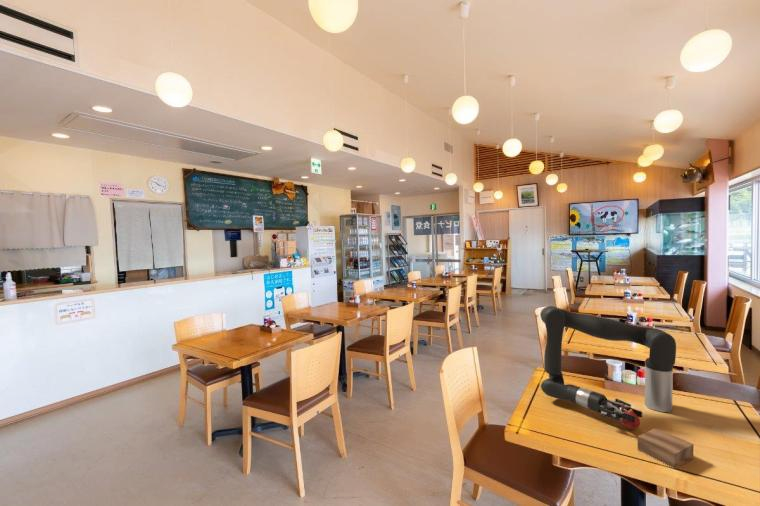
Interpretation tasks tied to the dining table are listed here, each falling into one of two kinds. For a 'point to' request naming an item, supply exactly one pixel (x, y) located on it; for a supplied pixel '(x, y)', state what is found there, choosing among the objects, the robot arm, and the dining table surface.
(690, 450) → the walnut block
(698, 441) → the dining table surface
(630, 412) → the onion
